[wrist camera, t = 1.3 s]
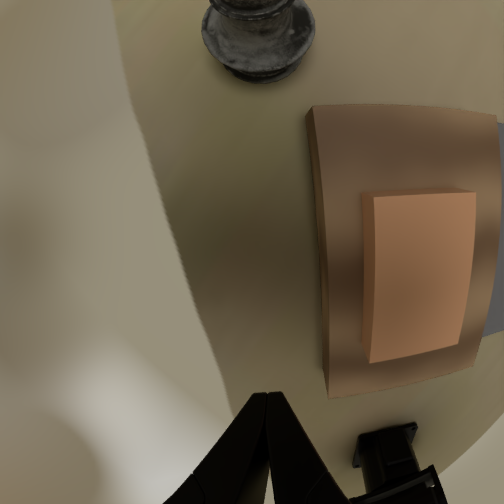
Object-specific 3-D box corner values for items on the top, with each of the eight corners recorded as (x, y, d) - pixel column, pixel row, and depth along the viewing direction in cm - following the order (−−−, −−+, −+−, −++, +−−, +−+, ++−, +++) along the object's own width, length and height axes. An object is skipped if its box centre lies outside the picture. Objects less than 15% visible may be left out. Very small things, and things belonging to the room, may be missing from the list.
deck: (454, 342, 20) (472, 366, 17) (322, 368, 22) (328, 398, 18) (467, 118, 15) (496, 115, 12) (305, 116, 16) (312, 106, 13)
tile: (444, 327, 16) (457, 343, 14) (361, 343, 17) (369, 363, 15) (456, 187, 14) (475, 192, 12) (361, 192, 14) (373, 197, 12)
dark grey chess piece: (196, 41, 15) (109, -66, 4) (270, -3, 14) (262, -133, 3) (249, 105, 16) (207, 19, 5) (327, 58, 15) (391, -56, 4)
